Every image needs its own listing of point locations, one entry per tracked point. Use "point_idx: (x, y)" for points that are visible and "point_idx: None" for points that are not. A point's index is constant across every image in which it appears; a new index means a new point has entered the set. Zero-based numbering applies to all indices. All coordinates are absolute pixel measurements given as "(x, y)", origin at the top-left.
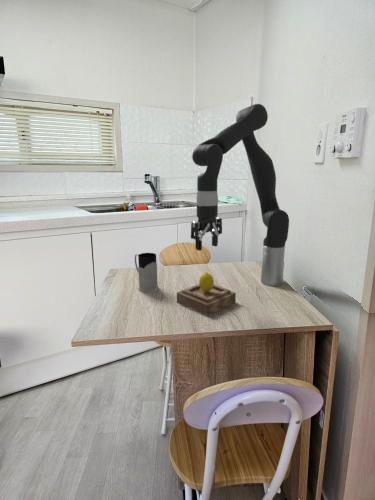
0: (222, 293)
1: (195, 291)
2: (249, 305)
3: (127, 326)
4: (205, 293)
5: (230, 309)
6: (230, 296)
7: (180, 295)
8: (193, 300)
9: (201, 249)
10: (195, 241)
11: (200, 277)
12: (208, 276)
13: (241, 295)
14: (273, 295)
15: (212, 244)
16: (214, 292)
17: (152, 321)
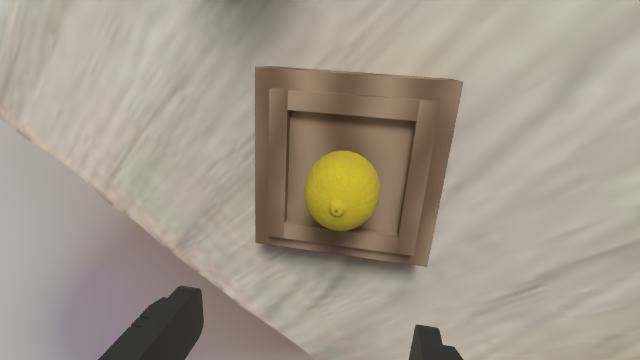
0: (361, 247)
1: (324, 127)
2: (429, 290)
3: (41, 79)
4: None
5: None
6: (390, 258)
7: (257, 94)
8: (257, 173)
9: (194, 337)
10: (102, 355)
11: (313, 179)
12: (328, 225)
13: (504, 231)
14: (579, 323)
15: (417, 336)
16: None
17: (116, 115)
